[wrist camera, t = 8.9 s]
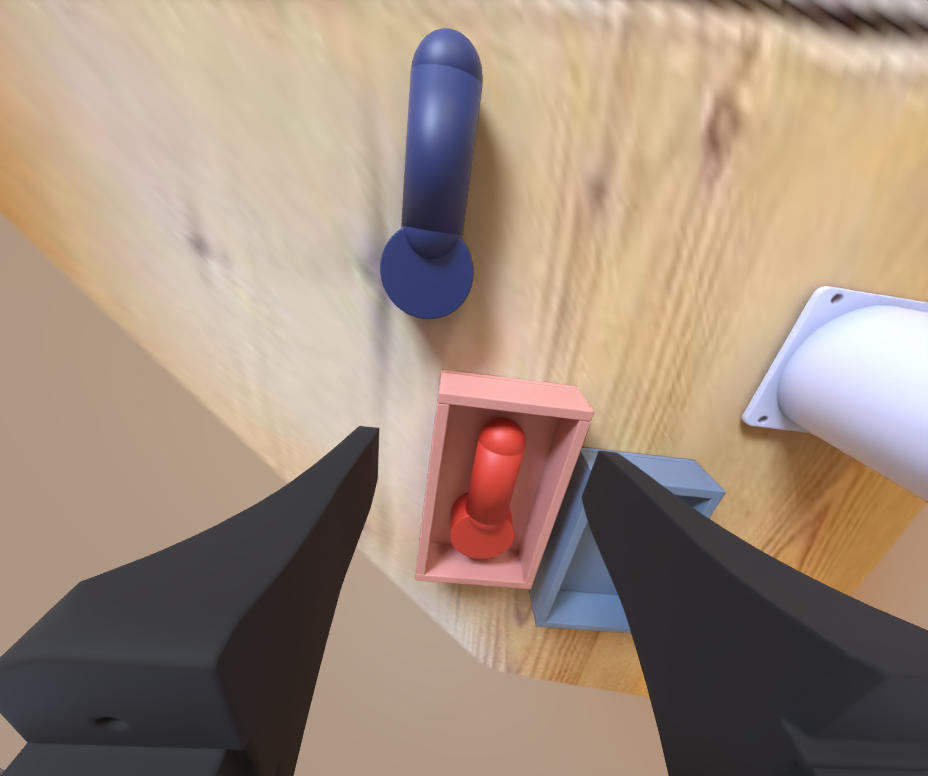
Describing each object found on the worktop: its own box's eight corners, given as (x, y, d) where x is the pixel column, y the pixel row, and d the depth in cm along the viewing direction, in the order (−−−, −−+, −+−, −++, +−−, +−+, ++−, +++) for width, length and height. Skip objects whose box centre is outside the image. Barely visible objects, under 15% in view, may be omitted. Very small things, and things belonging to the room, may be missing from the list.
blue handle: (399, 38, 13) (386, -2, 11) (503, 59, 13) (513, 25, 11) (386, 303, 17) (375, 316, 15) (465, 314, 18) (466, 328, 15)
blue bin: (578, 446, 21) (595, 477, 19) (694, 459, 22) (726, 492, 19) (528, 587, 27) (535, 626, 25) (620, 595, 28) (637, 634, 25)
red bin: (441, 368, 19) (438, 392, 16) (576, 386, 19) (595, 411, 17) (419, 542, 25) (414, 580, 22) (523, 551, 25) (530, 589, 23)
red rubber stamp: (469, 405, 19) (470, 430, 17) (537, 413, 20) (548, 439, 17) (447, 530, 24) (446, 564, 21) (503, 536, 24) (508, 570, 22)
